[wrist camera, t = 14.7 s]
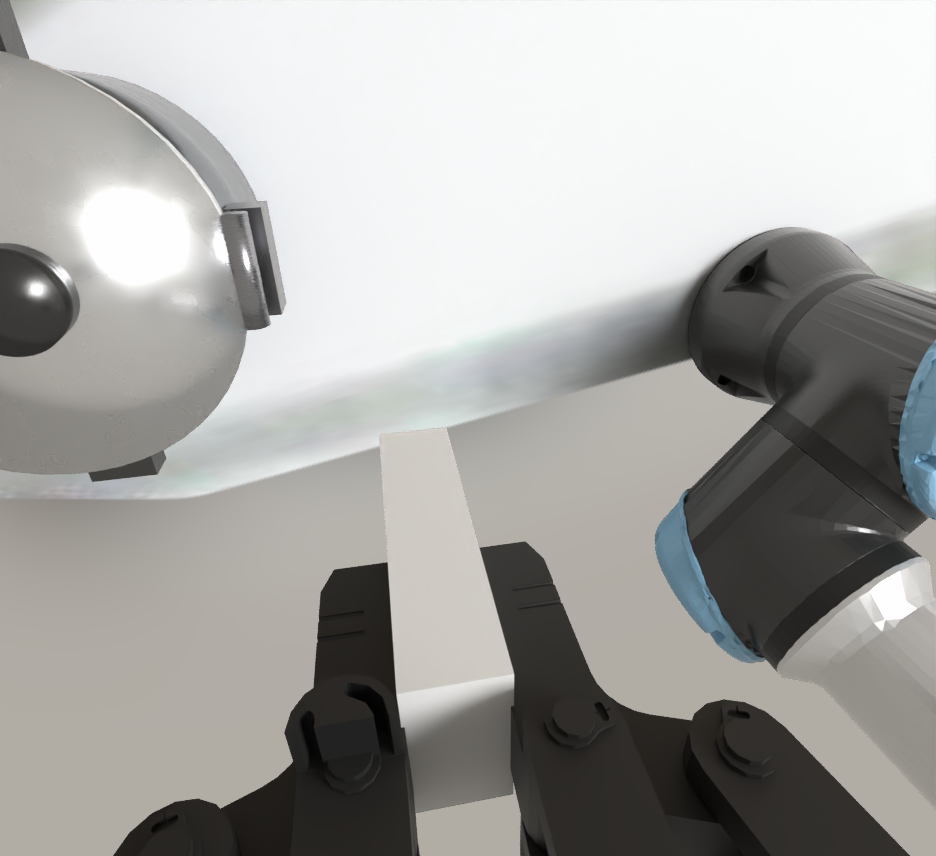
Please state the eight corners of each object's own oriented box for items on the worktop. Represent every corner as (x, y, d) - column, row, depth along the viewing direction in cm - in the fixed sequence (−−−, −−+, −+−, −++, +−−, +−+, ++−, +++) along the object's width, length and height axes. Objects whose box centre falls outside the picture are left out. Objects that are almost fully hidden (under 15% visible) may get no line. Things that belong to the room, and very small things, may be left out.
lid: (213, 39, 27) (202, 31, 24) (294, 431, 37) (294, 458, 34) (-377, 48, 23) (-477, 39, 20) (-100, 488, 33) (-138, 525, 30)
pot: (252, 9, 36) (210, -29, 26) (319, 388, 49) (309, 464, 38) (-142, 15, 33) (-369, -25, 23) (39, 416, 46) (-54, 506, 36)
